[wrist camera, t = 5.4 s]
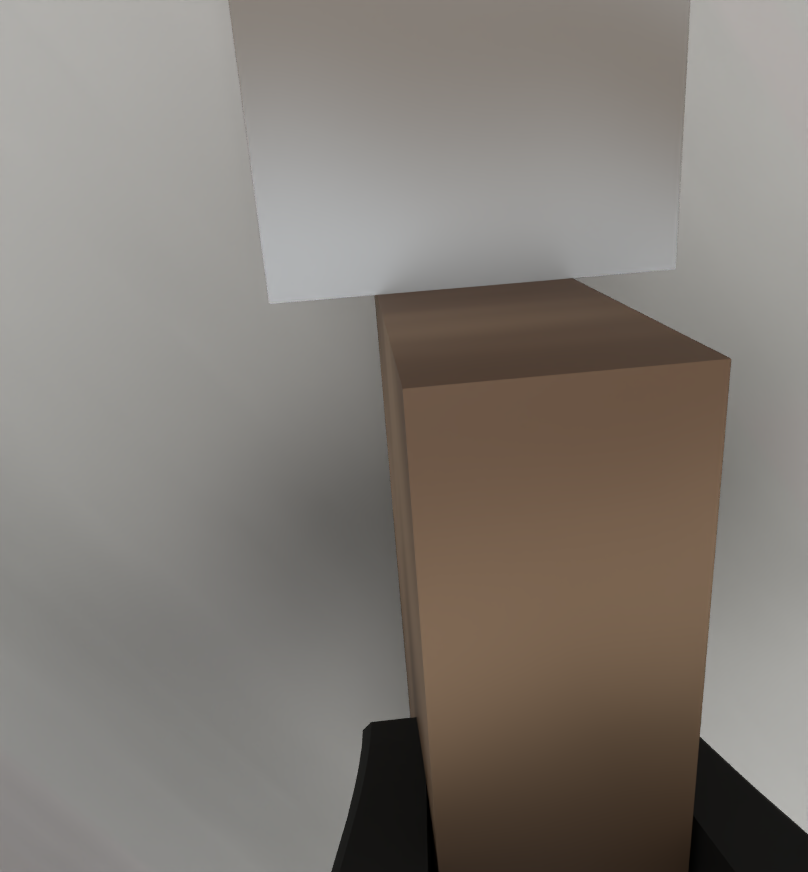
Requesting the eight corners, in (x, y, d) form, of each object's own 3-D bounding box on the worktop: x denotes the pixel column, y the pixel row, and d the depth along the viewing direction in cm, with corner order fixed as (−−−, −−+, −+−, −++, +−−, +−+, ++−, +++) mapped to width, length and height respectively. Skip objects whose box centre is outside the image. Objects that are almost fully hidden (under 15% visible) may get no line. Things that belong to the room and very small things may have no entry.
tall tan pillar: (619, 895, 14) (753, 1250, 10) (358, 928, 14) (368, 1309, 9) (660, -128, 9) (1037, -467, 4) (224, -103, 8) (80, -433, 4)
